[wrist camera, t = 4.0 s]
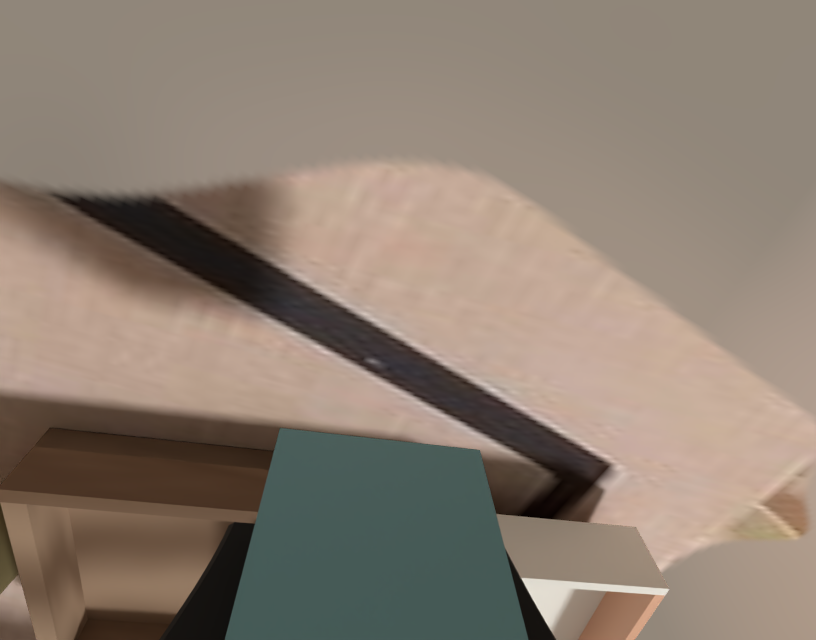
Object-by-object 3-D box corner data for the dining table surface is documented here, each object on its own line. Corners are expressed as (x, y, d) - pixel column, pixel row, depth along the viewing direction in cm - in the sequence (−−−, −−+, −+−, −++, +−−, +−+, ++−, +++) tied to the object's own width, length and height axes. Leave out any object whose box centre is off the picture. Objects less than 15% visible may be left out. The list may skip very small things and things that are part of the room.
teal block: (437, 575, 13) (462, 793, 9) (267, 562, 13) (218, 790, 9) (479, 449, 11) (534, 661, 7) (280, 427, 11) (223, 645, 7)
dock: (412, 624, 26) (416, 689, 23) (81, 604, 24) (45, 673, 21) (463, 471, 21) (475, 531, 18) (50, 427, 19) (-4, 489, 16)
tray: (564, 648, 26) (584, 712, 23) (271, 632, 24) (258, 700, 21) (635, 526, 21) (669, 589, 19) (286, 494, 19) (272, 558, 17)
